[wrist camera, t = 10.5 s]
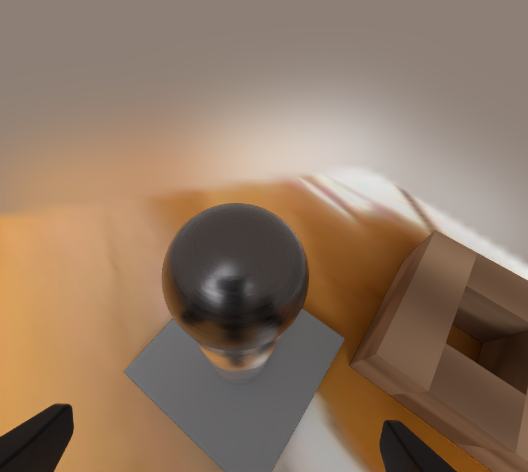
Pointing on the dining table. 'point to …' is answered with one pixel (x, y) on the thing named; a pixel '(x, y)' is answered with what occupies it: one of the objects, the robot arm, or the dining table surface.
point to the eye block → (450, 360)
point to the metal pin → (235, 285)
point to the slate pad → (237, 392)
